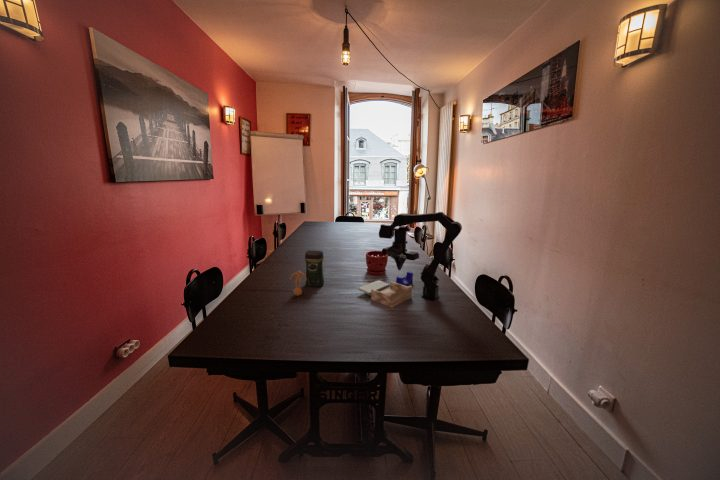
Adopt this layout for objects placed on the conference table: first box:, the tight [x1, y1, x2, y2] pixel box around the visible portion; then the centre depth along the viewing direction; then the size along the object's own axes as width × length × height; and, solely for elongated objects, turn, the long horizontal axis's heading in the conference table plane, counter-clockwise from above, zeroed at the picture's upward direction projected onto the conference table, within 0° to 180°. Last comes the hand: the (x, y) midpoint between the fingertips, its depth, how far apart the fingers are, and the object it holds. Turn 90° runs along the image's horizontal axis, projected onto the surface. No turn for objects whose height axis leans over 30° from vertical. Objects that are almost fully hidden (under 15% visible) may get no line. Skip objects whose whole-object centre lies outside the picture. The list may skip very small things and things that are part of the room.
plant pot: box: [365, 250, 389, 275], centre depth 177 cm, size 13×13×12 cm
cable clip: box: [395, 271, 414, 287], centre depth 159 cm, size 12×4×6 cm, turn 140°
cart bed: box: [370, 281, 413, 308], centre depth 141 cm, size 12×16×6 cm
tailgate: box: [357, 279, 390, 297], centre depth 148 cm, size 2×16×8 cm
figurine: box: [289, 270, 307, 297], centre depth 142 cm, size 8×6×12 cm
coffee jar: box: [304, 249, 325, 288], centre depth 155 cm, size 10×8×19 cm
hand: (399, 270), depth 148 cm, fingers closed
